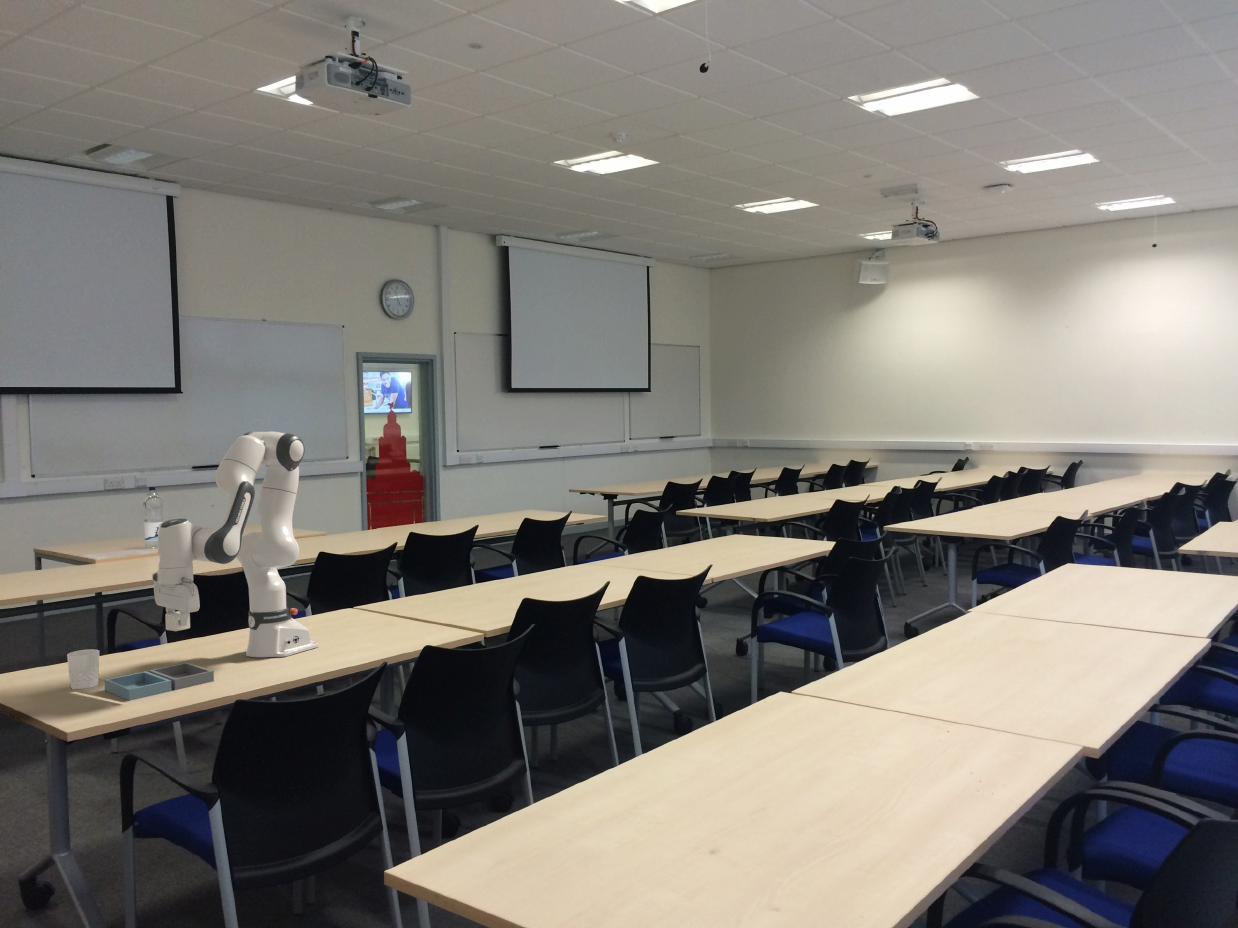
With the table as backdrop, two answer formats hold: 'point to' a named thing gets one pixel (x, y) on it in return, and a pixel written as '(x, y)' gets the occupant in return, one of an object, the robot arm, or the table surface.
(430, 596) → the table surface
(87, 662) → the white cup
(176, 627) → the white cube
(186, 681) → the tray
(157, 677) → the bin
